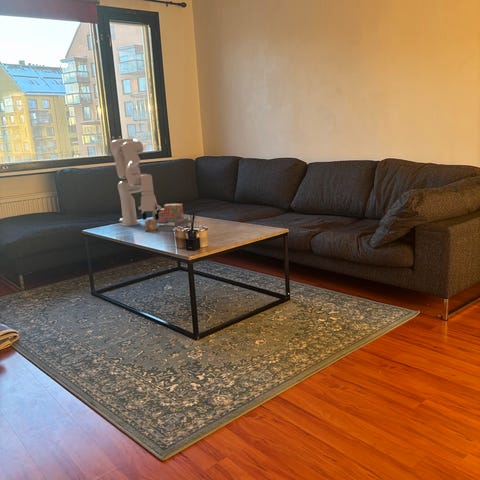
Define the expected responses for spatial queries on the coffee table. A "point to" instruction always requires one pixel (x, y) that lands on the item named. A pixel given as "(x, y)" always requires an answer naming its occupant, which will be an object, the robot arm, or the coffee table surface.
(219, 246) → the coffee table surface
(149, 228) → the pedestal
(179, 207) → the stack of blocks
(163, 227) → the dock
